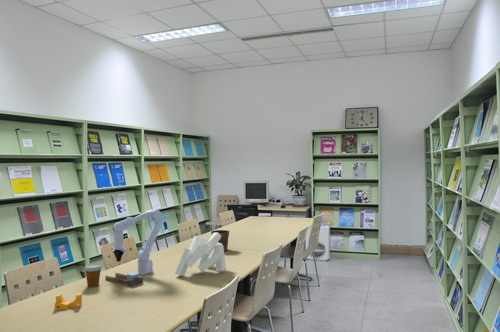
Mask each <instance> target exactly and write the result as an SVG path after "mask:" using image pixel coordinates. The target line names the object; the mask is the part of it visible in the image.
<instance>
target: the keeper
mask: <svg viewBox="0 0 500 332" xmlns="http://www.w3.org/2000/svg"><path fill="white" fill-rule="evenodd" d="M126 275H127V281H130V279H133V278H137V277H140V276H139V275H140V274H138V273H136V272H134V271H133V272H129V273H127V274H126Z"/></svg>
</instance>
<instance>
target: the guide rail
mask: <svg viewBox="0 0 500 332" xmlns="http://www.w3.org/2000/svg"><path fill="white" fill-rule="evenodd" d="M114 275H115V277H114V276H110V275H105V276H104V277H105V280H106V281H109V282H113V283H116V284H121V285H123V286H129V287H135V286H138V285H141V284H143V283H144V275H140V276H139V277H137V278H133V279H130V281H127V274H124V273H122V272H121V273H120V272H115V274H114Z"/></svg>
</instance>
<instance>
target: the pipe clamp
mask: <svg viewBox="0 0 500 332" xmlns="http://www.w3.org/2000/svg"><path fill="white" fill-rule="evenodd" d="M62 295H63V294H60V293H59V294H56V295H55V303H54V310H69V309H70V308H81V307H82V305H83V293H77V294H76V295H75V296H76V297H75V299H74V300H71V301H67V300H66V299H64V298H63V296H62Z"/></svg>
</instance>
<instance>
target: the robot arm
mask: <svg viewBox="0 0 500 332" xmlns="http://www.w3.org/2000/svg"><path fill="white" fill-rule="evenodd" d="M144 219H152V221H153V223H154V224H153V226H152V228H151V230H150V232H149V234H148V236H147V239H146V240H145V243H144V244H143V245H142V246H141V247H140V249H139V250H138V252H137V257H138V259H137V271H136V272H135V273H138V274H139V275H140V276H144V275H148V274H152V273H154V271H153V269H154V268H153V265H154V263H153V260H152V259H151V258H150V254H151V252H152V251H151V250H152V247H153V246H154V243H155V241H156V239H157V237H158V234H159V233H160V230H161V229H162V227H163V214H162V212H161V211H160V210H158V209H156V208H152V209H149V210H146V211H145V212H142V213H140V214H138V215H137V216H135V217H134V216H132V217H130V216H128V217H127V216H126V218H125V219H123V220H120V221H119V222H115V223H114V224H113V230H114V232H113V243H114V244H113V245H111V246H110V250H113V251H112V252H113V254H114V256H115V259H116V262H118V263H119V262H121V261H122V257H123V255H124V253H127V252H128V248H126V247H124V230H126V229H129V228H130V227H132V226H135V223H137V222H139V221H142V220H144Z"/></svg>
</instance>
